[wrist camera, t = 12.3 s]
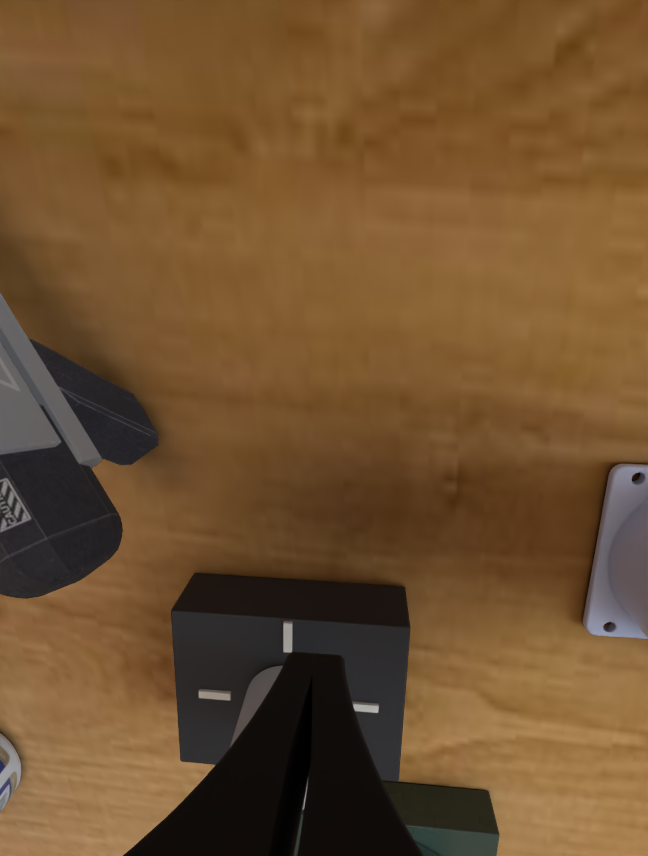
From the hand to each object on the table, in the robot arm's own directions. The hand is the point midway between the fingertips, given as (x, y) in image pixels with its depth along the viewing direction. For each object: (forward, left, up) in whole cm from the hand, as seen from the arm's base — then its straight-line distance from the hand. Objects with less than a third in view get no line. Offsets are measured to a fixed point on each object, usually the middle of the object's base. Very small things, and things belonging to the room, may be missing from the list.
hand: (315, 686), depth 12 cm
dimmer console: (+2, +8, -10) cm, 13 cm away
